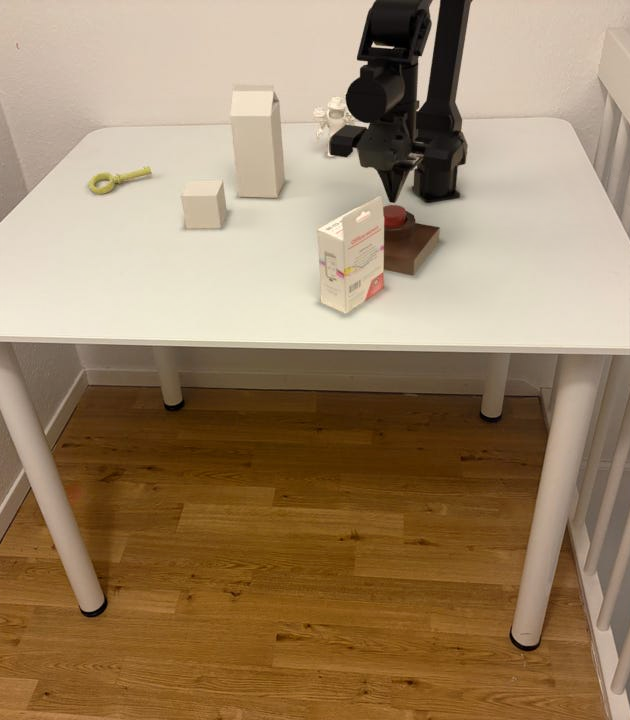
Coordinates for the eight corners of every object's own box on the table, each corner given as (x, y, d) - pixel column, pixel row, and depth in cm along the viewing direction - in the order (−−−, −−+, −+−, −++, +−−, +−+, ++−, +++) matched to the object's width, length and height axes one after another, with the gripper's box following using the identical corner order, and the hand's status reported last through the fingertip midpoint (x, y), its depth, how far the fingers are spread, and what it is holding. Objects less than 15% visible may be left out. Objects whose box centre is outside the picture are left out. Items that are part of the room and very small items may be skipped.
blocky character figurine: (359, 148, 146) (359, 88, 138) (360, 156, 142) (360, 94, 135) (314, 151, 146) (311, 91, 139) (314, 159, 143) (312, 97, 136)
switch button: (385, 213, 114) (385, 203, 113) (409, 217, 112) (409, 207, 111) (375, 224, 111) (375, 214, 110) (399, 229, 110) (400, 218, 108)
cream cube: (227, 212, 127) (223, 180, 123) (220, 228, 122) (216, 195, 119) (193, 212, 128) (188, 180, 124) (186, 228, 123) (180, 195, 119)
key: (156, 178, 140) (154, 167, 139) (96, 196, 136) (93, 186, 134) (141, 167, 145) (139, 156, 144) (83, 184, 140) (80, 174, 139)
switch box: (363, 227, 119) (363, 202, 117) (438, 242, 114) (440, 216, 111) (333, 259, 112) (333, 233, 109) (413, 276, 106) (414, 249, 104)
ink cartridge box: (357, 277, 107) (357, 184, 98) (384, 289, 104) (386, 194, 95) (318, 302, 103) (314, 207, 93) (345, 315, 100) (343, 218, 91)
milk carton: (277, 198, 130) (268, 91, 118) (239, 197, 131) (226, 91, 120) (285, 182, 135) (277, 77, 124) (248, 181, 137) (237, 77, 125)
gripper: (309, 110, 99) (314, 214, 108) (440, 126, 91) (433, 237, 100) (344, 84, 106) (346, 184, 116) (468, 97, 98) (459, 203, 108)
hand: (393, 201), depth 110 cm, fingers closed
